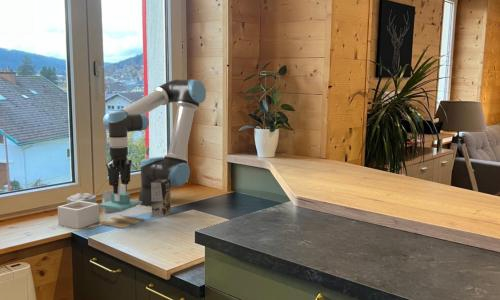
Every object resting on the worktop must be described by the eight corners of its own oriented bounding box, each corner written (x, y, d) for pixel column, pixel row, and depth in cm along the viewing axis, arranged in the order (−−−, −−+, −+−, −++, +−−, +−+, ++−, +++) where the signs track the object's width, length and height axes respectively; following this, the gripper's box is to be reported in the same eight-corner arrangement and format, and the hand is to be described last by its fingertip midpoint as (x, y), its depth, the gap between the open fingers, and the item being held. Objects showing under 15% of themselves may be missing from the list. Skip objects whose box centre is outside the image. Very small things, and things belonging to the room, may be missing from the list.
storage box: (80, 217, 215) (79, 200, 214) (99, 221, 209) (98, 203, 208) (58, 224, 204) (57, 206, 203) (78, 228, 199) (77, 210, 198)
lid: (120, 202, 216) (119, 189, 216) (142, 205, 210) (141, 192, 210) (98, 208, 205) (98, 195, 204) (121, 212, 199) (121, 198, 198)
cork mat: (120, 215, 218) (120, 215, 218) (144, 220, 212) (144, 219, 212) (97, 223, 206) (97, 222, 206) (122, 228, 199) (122, 227, 199)
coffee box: (164, 217, 216) (163, 182, 213) (151, 216, 217) (150, 182, 215) (171, 212, 225) (171, 178, 222) (159, 211, 226) (158, 178, 224)
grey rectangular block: (119, 210, 227) (118, 190, 226) (105, 213, 223) (104, 192, 221) (115, 209, 230) (115, 189, 228) (102, 211, 226) (101, 191, 224)
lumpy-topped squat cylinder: (65, 212, 224) (64, 194, 223) (91, 207, 233) (90, 190, 232) (74, 217, 217) (73, 198, 215) (101, 211, 226) (100, 193, 225)
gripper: (125, 144, 213) (126, 195, 216) (98, 148, 199) (100, 202, 202) (138, 145, 209) (139, 197, 213) (111, 149, 195) (113, 205, 199)
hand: (120, 199), depth 207 cm, fingers closed on lid, 3 cm apart
